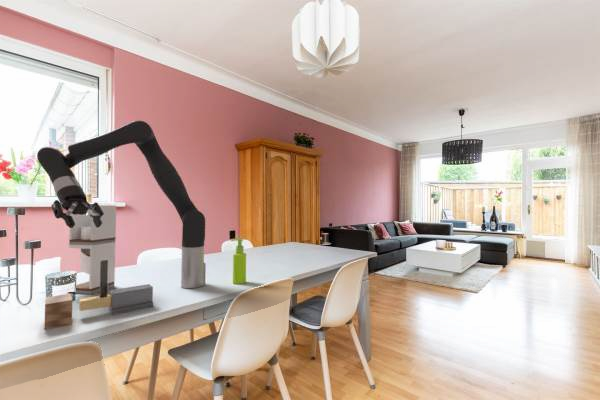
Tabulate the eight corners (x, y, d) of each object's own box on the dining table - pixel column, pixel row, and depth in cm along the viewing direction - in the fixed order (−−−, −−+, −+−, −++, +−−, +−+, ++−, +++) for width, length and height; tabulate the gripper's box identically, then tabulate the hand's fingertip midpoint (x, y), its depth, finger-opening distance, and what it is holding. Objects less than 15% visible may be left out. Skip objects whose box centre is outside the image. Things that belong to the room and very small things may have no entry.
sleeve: (148, 301, 104) (148, 283, 104) (153, 306, 98) (153, 287, 98) (108, 309, 96) (109, 289, 96) (111, 315, 90) (112, 294, 91)
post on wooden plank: (143, 297, 101) (144, 256, 101) (145, 299, 98) (146, 257, 99) (79, 308, 89) (80, 262, 89) (80, 311, 87) (81, 263, 87)
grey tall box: (92, 285, 125) (95, 205, 126) (114, 286, 123) (116, 205, 124) (67, 292, 113) (70, 205, 114) (91, 294, 112) (93, 205, 113)
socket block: (70, 315, 90) (71, 293, 90) (71, 323, 83) (72, 299, 84) (45, 320, 86) (45, 297, 86) (44, 329, 80) (45, 304, 80)
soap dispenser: (231, 281, 133) (232, 238, 133) (246, 280, 134) (247, 238, 134) (229, 284, 127) (230, 239, 128) (245, 284, 128) (245, 239, 128)
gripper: (51, 182, 95) (68, 219, 90) (95, 186, 108) (112, 219, 103) (40, 197, 96) (56, 234, 92) (85, 199, 110) (101, 232, 105)
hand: (86, 226), depth 97 cm, fingers open, 8 cm apart
